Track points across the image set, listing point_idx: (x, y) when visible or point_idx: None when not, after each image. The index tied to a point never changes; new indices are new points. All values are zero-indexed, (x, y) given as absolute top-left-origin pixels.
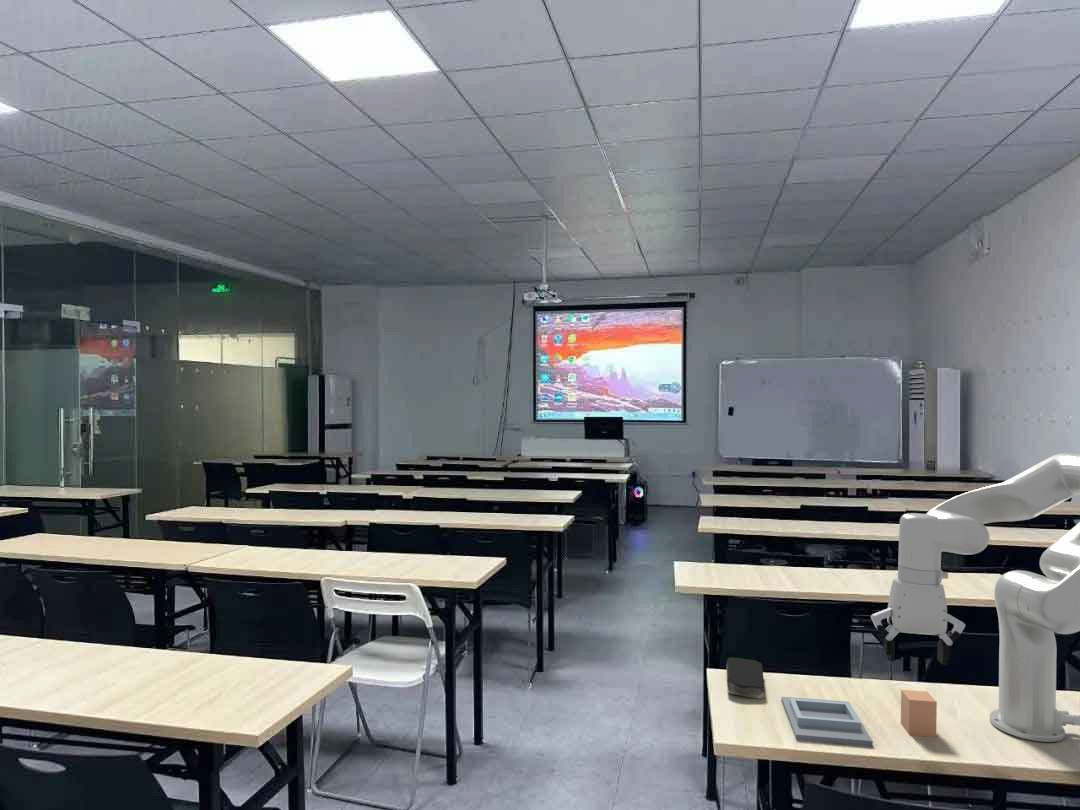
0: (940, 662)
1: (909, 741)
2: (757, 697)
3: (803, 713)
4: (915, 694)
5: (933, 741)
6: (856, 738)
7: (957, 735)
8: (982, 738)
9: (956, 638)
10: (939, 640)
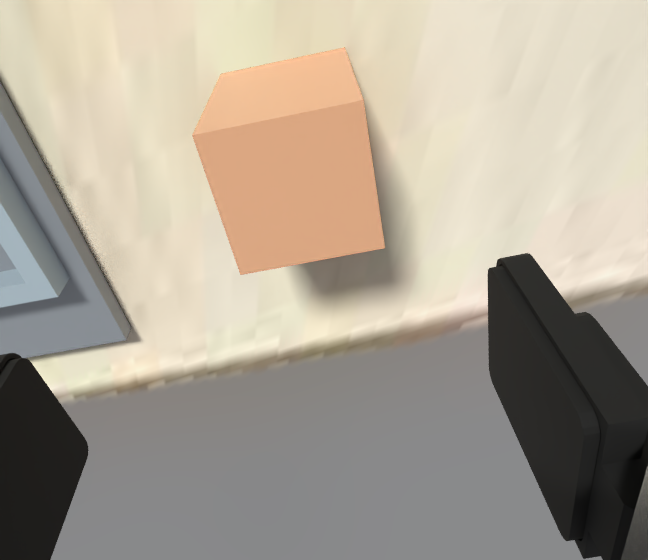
0: (489, 335)
1: None
2: None
3: None
4: (279, 183)
5: None
6: (70, 342)
7: (461, 112)
8: (565, 101)
9: None
10: (622, 419)
